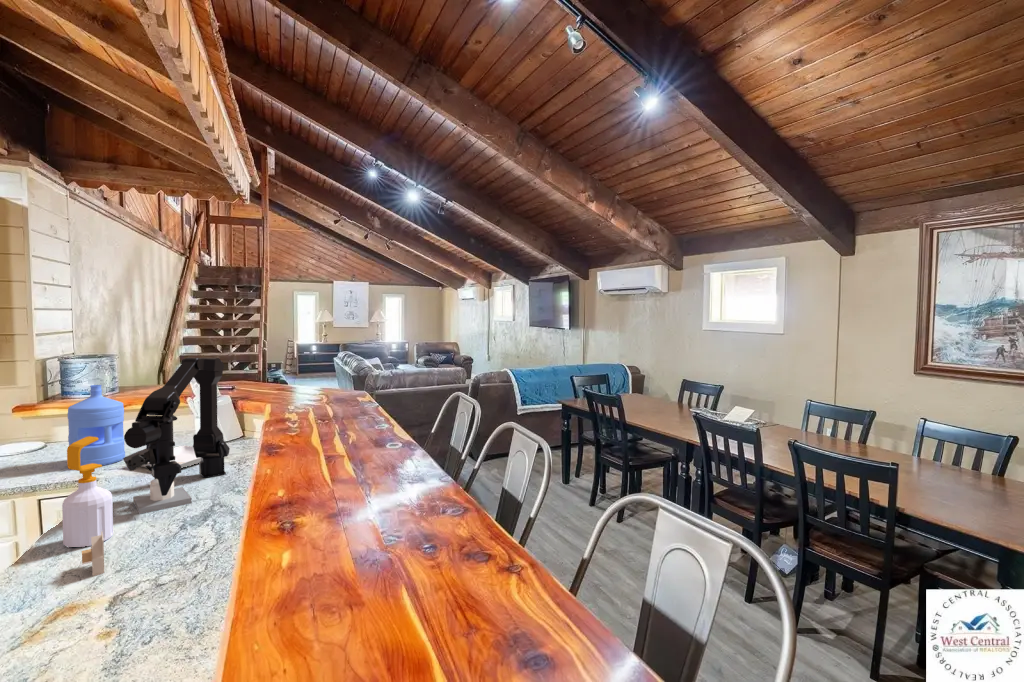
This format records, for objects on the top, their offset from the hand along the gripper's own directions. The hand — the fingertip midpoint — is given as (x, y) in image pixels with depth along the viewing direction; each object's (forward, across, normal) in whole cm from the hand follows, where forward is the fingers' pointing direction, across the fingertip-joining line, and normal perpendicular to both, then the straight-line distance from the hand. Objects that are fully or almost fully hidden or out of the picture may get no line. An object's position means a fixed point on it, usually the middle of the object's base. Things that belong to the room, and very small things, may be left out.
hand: (162, 492), depth 141 cm
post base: (+3, 0, 0) cm, 3 cm away
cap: (+1, 0, 0) cm, 1 cm away
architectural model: (+4, +36, -17) cm, 40 cm away
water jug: (+3, -62, -10) cm, 63 cm away
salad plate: (+4, -42, +11) cm, 44 cm away
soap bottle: (+3, +17, -17) cm, 24 cm away
